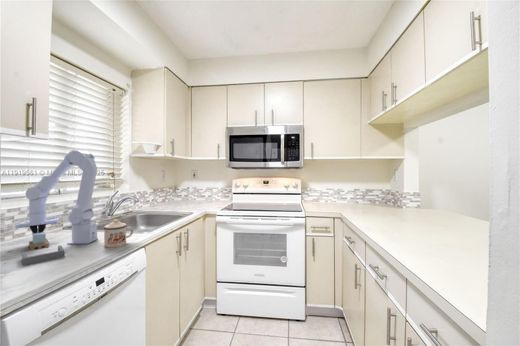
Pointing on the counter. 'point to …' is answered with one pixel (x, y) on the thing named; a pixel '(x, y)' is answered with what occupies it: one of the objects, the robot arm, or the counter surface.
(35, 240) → the pale blue cube
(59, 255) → the dock
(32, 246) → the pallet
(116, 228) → the teacup with lid
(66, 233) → the counter surface
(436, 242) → the counter surface
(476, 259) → the counter surface
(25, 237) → the counter surface
